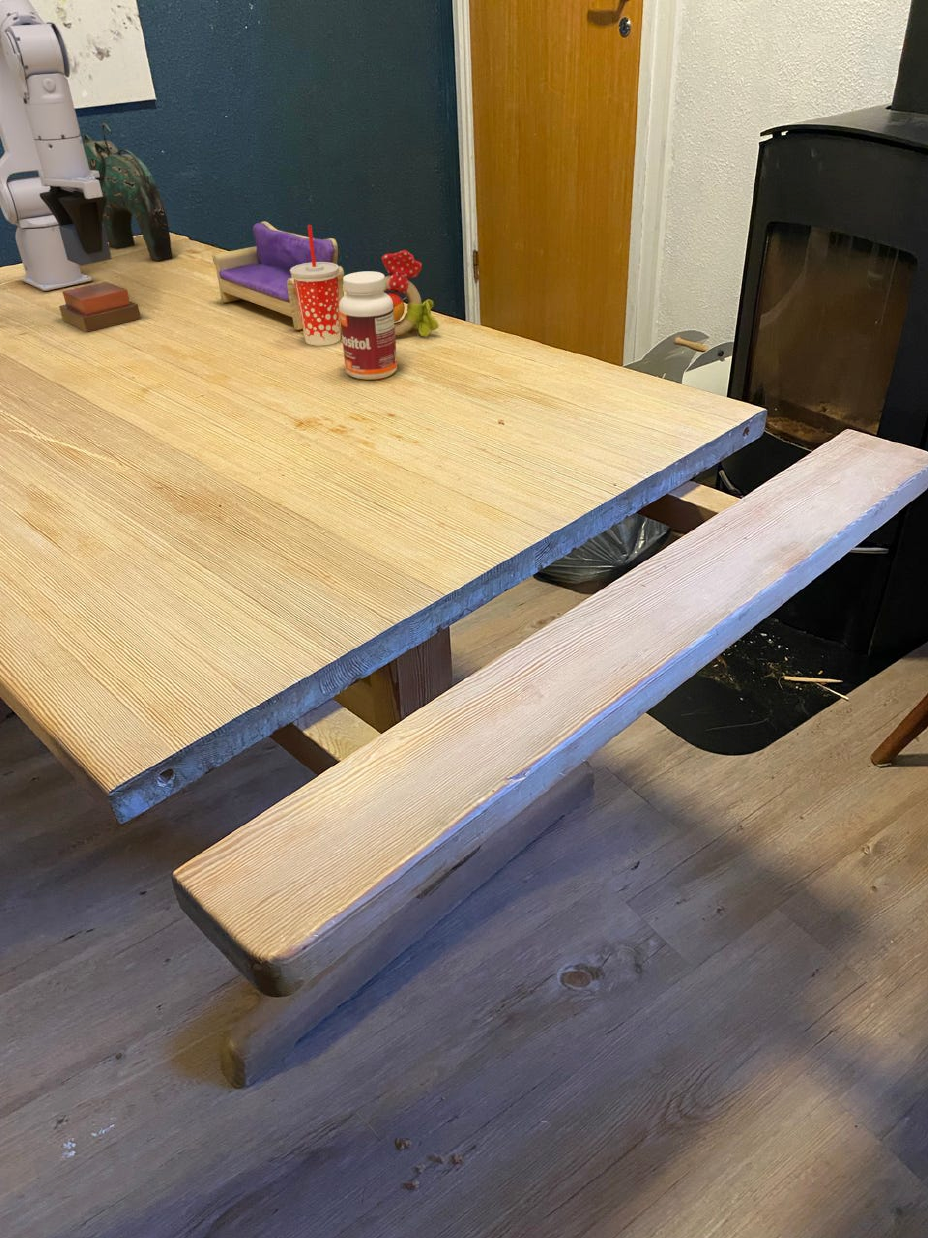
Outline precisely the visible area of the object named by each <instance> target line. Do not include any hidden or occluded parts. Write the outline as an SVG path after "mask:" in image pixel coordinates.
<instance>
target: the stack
mask: <svg viewBox="0 0 928 1238" xmlns="http://www.w3.org/2000/svg"><path fill="white" fill-rule="evenodd" d="M61 293H62V296H63V299H64V303H65V304H62V305H58V307H59V311H60V315H61V319H62V321H64V322H66V323H67V324H70V325H72V326H74V327H75V328H78V329H80V330H82V331H84V332H86V333H89V332H94V331H98V330H102V329H104V328H109V327H110V328H111V327H113V326H117V325H122V324H124V323H129V322H133V321H136V320H137V321H138V320H141V319H142V317H141V313H140V312H141V311H140V308H139V304H138V303H135V302H133V301H131V300H130V297H129V293H128V290H127V288H126V289H125V288H124V287H121V286H119V285H116V284H113V283H111V282H108V281H101V282H98V283H93V284H88V285H84V286H80V287H75V288H70V289H66V290H62V291H61Z"/></svg>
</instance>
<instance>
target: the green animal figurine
mask: <svg viewBox="0 0 928 1238" xmlns="http://www.w3.org/2000/svg"><path fill="white" fill-rule="evenodd" d="M105 128H106V130H107V131H108V132H109V133H110V134H113V131H112V129H111V128H110V126H109V125H108V123H106V122H102V125H101V131H102V134H103V135H102V136H103V140H99V141H98V140H97V141H96V140H94V139H92V138H90V136H88V134H86V133H83V137H84V143H83V145H84V149H85V154H86V158H87V162H88V166H89V170H95V171H98V172H99V175H100V177H97V178H95V179H96V180H99V182H100V187H101V191H102V194H104V195H106V197H107V202H106V205H105V209H104V213H103V221H102V225H104V229H105V233H106V237H107V241H108V246H109V247H112V248H113V249H124V248H128V247H129V248H130V247H133V246H135V238H134V234H133V229H132V220H133V217H134V219H135V221H136V222H137V224H138V226H139V229H140V232H141V234H142V237H143V240H144V243H145V246H146V249H147V252H148V254H149V256H150V259H151V260H152V261H154V262H163V261H166V260H170V259H171V260H172V259H173V250H172V240H171V233H170V227H169V221H168V215H167V213H166V210H165V207H164V204H163V200H162V197H161V194H160V191H159V188H158V185H157V183H156V182H155V179H154V178H153V175H152V173H151V171H150V170H149V169H148V167H147V166H146V165H145V163H144V162H143V161H142V160H141V159H140V158H138V157H137V156H136V155H135V154H134V153H133V152H131V150H128V149H127V148H121V149H119V150H118V148H117V146H116V145H115V144H114V143H113V142H112V141H110V140H107V137H106V135H105ZM121 152H125V153H126V154H125V153H124V154H121Z"/></svg>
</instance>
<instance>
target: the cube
mask: <svg viewBox="0 0 928 1238" xmlns="http://www.w3.org/2000/svg"><path fill="white" fill-rule="evenodd" d="M59 230H60V234H61V237H62V241H63V245H64V248H65V252H66V256H67V259H68V261H71V262H74V263H76V264H79V266H81V267H82V266H87V265H92V264H97V263H101V262H106V261H110V260H112V259H113V257H112V255H111V254H112V253H111V250H110V246H109V243H108V238H107V235H106V231H105V228H104V225H103V224H102V242H103V247H102V251H101V252H96V253H91V254H87V253H86V252H85V250H84V248H83V246H82V244H81V241H80V239H79V236H78V233H77V231H76V228H75V226H74V224H69V225H63V226H59Z"/></svg>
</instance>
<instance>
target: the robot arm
mask: <svg viewBox="0 0 928 1238" xmlns="http://www.w3.org/2000/svg"><path fill="white" fill-rule="evenodd" d="M69 57H70V56H69V53H68V49H67V45H66V43H65V39H64V37H63V34H62V32H61V30H60V28H59V26H58V25H57V23H56V22H54V21H43V20H42V17H41V16H40V15H39V13H38V12H37V10H36V9H35V8H34V6H33V5H32V3H31V1H30V0H0V140H1V143H2V147H3V150H4V153H3V155H2V156H1V157H0V209H1V211H2V214H3V216H4V218H5V220H6V221H7V222H9V223H10V224H11V225H15V226H17V228H16V231H15V241H16V246H17V249H18V252H19V256H20V259H21V262H22V265H23V269H24V272H25V275H26V276H22V277H20V280H21V281H22V282H24V283H26V284H28V285H31V286H33V287H35V288H37V289H39V290H41V291H43V292H48V291H52V290H55V289H61V288H65V287H71V286H75V285H79V284H84V283H88V282H92V281H93V277H92V276H89V275H87V274H84V273H82V271H81V267H80V265H79V264H76V263H74V262H71V261H68V259H67V256H66V252H65V248H64V245H63V241H62V237H61V234H60V230H59V226H63V225H69V224H74V226H75V228H76V231H77V233H78V236H79V239H80V241H81V244H82V246H83V248H84V250H85V252H86V253H87V254H91V253H96V252H101V251H102V247H103V242H102V225H103V213H104V209H105V205H106V202H107V197H106V195H104V194H102V191H101V187H100V182H99V180H96V179H95V178H97V177H100V175H99V172H98V171H95V170H89V166H88V162H87V158H86V154H85V149H84V145H83V144H84V142H83V137H82V134H81V129H80V126H79V121H78V116H77V113H76V109H75V105H74V101H73V97H72V93H71V89H70V85H69V80H68V78H69V77H70V75H71V66H70V65H71V64H70V58H69ZM35 172H37V173H38V174H32V175H27V176H18V177H10V176H11V175H18V174H27V173H28V174H29V173H35Z"/></svg>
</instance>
